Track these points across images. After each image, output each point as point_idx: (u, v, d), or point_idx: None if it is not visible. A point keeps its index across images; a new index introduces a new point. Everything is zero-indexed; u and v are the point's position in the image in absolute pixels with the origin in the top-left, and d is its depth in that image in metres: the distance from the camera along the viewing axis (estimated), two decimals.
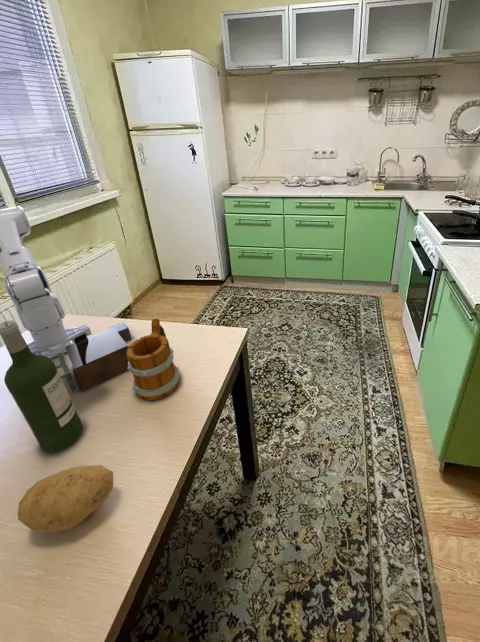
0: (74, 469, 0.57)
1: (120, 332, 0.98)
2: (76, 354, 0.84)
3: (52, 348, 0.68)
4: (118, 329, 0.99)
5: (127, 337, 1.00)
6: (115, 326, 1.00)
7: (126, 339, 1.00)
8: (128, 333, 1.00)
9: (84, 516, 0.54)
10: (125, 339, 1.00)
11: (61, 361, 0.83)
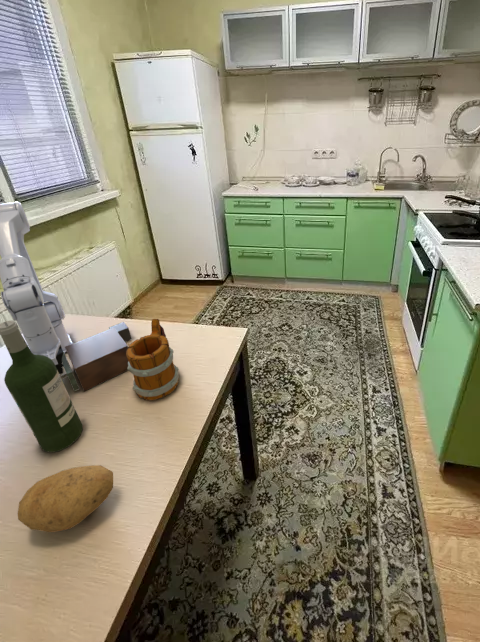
0: (74, 469, 0.57)
1: (120, 332, 0.98)
2: (76, 354, 0.84)
3: None
4: (118, 329, 0.99)
5: (127, 337, 1.00)
6: (115, 326, 1.00)
7: (126, 339, 1.00)
8: (128, 333, 1.00)
9: (84, 516, 0.54)
10: (125, 339, 1.00)
11: (63, 360, 0.83)
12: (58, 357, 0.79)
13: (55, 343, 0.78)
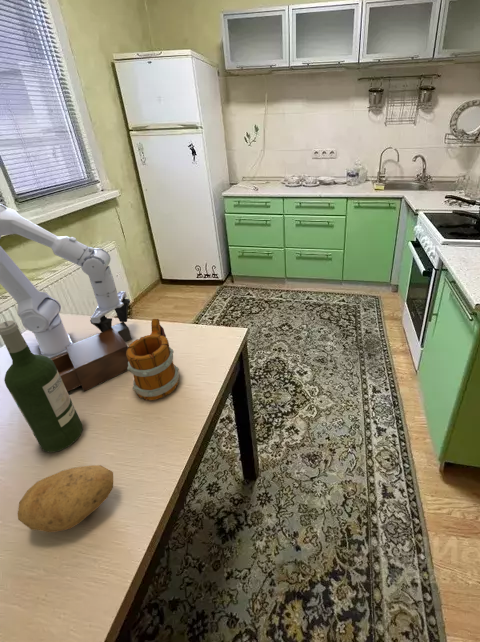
0: (74, 469, 0.57)
1: (120, 332, 0.98)
2: (76, 354, 0.84)
3: (119, 304, 0.95)
4: (118, 329, 0.99)
5: (127, 337, 1.00)
6: (115, 326, 1.00)
7: (126, 339, 1.00)
8: (128, 333, 1.00)
9: (84, 516, 0.54)
10: (125, 339, 1.00)
11: None
12: None
13: None
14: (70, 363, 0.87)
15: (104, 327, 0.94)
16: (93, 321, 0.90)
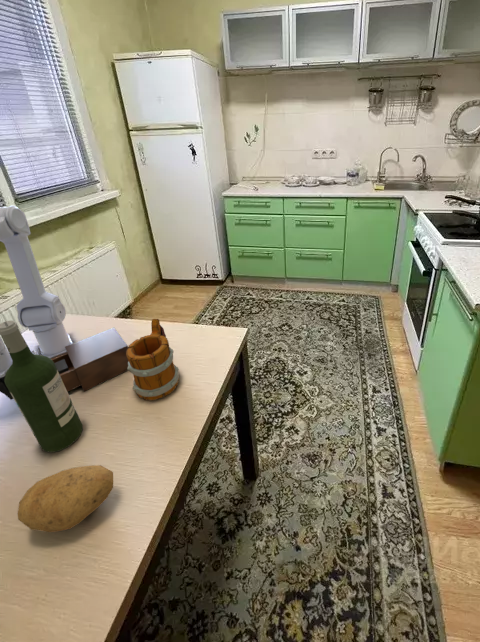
0: (74, 469, 0.57)
1: None
2: (76, 354, 0.84)
3: None
4: None
5: None
6: None
7: None
8: None
9: (84, 516, 0.54)
10: None
11: None
12: None
13: None
14: (71, 363, 0.87)
15: None
16: None
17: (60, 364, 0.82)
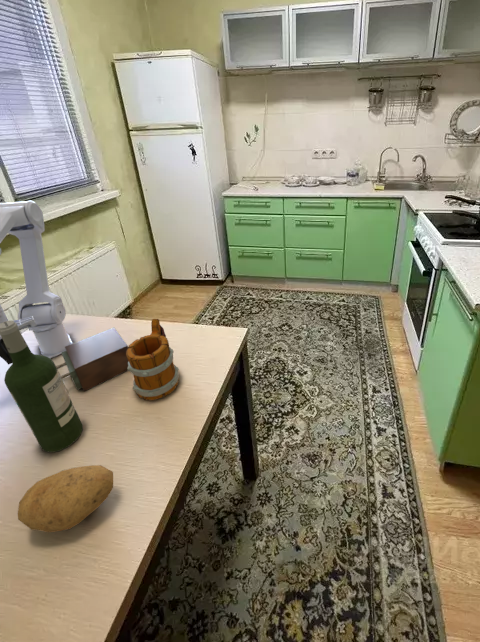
0: (74, 469, 0.57)
1: None
2: (76, 354, 0.84)
3: None
4: None
5: None
6: None
7: None
8: None
9: (84, 516, 0.54)
10: None
11: (65, 359, 0.84)
12: None
13: None
14: None
15: None
16: None
17: None
